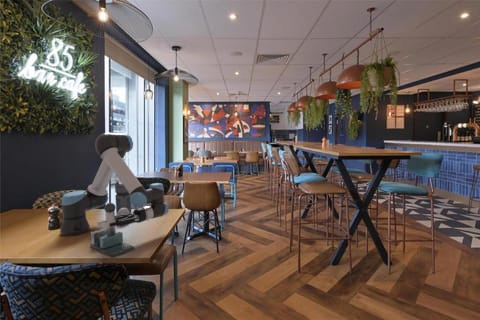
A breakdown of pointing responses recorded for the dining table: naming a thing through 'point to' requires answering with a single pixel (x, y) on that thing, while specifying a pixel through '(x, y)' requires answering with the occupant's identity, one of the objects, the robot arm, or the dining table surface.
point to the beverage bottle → (122, 197)
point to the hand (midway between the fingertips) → (99, 225)
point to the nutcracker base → (111, 250)
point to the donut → (123, 211)
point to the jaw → (110, 229)
